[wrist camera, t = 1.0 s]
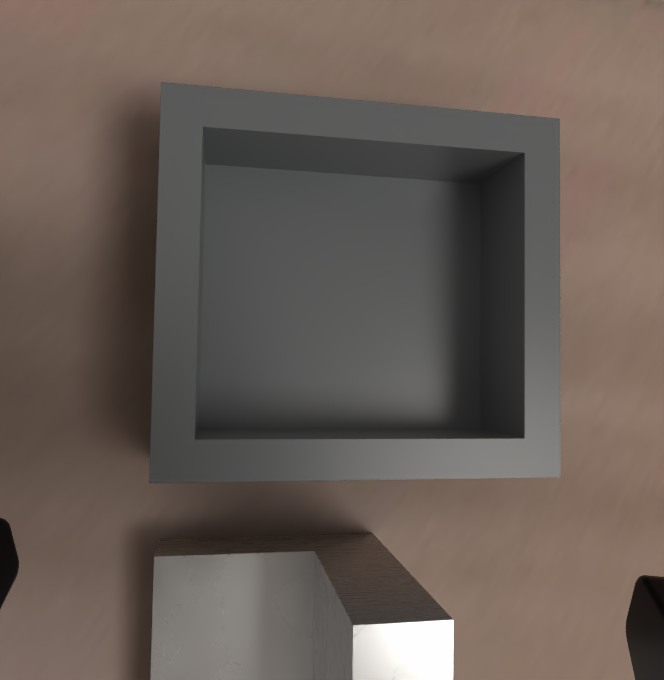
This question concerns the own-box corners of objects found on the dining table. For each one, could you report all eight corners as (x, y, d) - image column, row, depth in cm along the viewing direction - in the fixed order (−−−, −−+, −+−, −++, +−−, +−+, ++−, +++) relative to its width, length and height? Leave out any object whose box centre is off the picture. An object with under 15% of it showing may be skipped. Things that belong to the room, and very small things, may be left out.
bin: (503, 459, 24) (560, 477, 20) (162, 462, 21) (149, 483, 18) (504, 159, 24) (559, 118, 20) (171, 133, 22) (161, 82, 18)
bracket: (370, 704, 22) (452, 886, 15) (155, 721, 21) (116, 930, 13) (372, 533, 23) (453, 620, 15) (160, 539, 21) (125, 638, 14)
